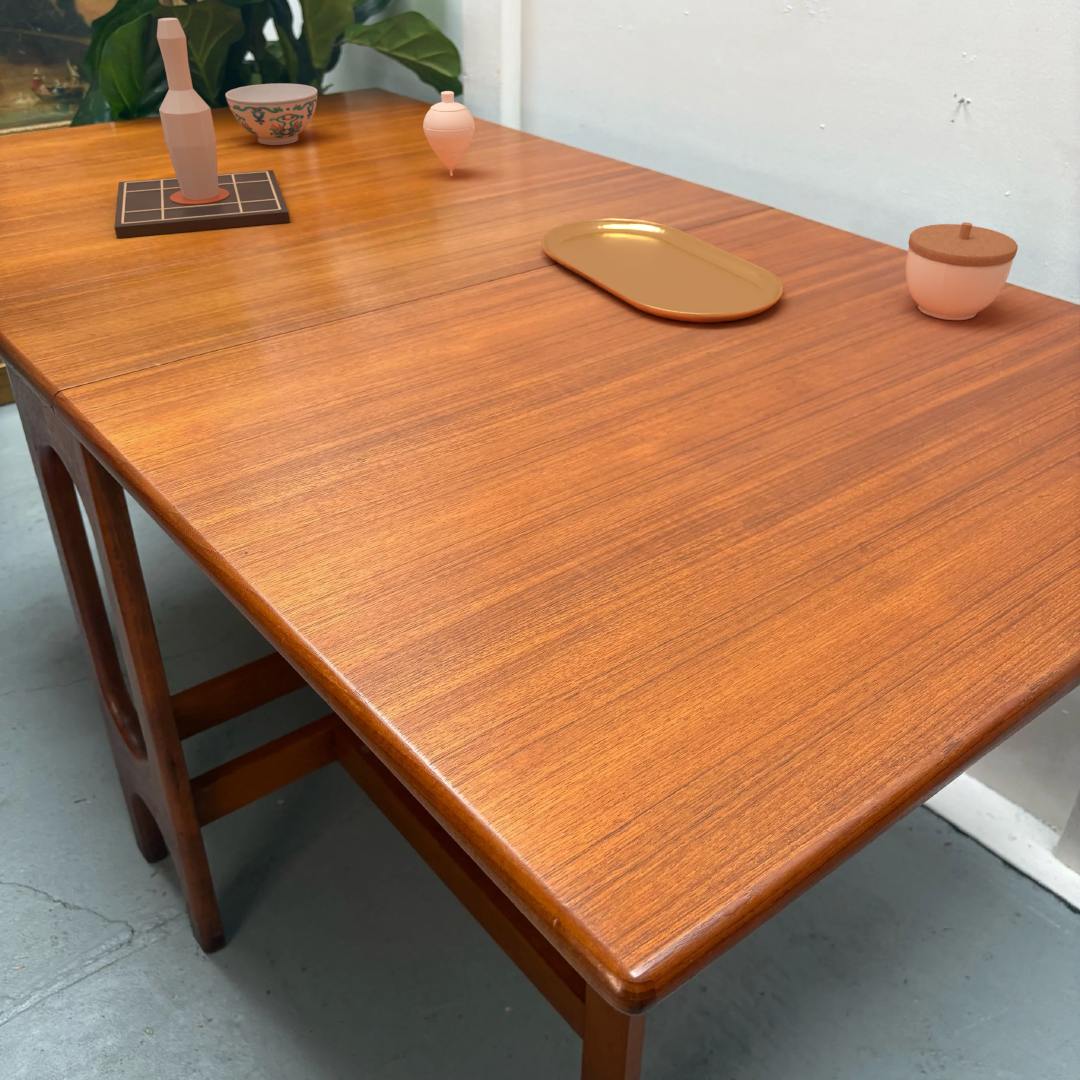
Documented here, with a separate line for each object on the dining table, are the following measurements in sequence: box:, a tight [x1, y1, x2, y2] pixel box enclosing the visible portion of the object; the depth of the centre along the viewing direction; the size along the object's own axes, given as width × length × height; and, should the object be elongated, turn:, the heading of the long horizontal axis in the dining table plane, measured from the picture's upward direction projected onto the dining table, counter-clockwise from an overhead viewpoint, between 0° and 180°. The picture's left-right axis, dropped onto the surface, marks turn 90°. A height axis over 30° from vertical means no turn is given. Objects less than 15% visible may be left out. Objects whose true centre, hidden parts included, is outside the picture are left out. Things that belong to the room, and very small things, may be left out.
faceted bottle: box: [156, 17, 219, 200], centre depth 135 cm, size 6×6×22 cm
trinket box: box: [904, 221, 1019, 321], centre depth 108 cm, size 11×11×9 cm
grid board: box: [113, 169, 291, 239], centre depth 142 cm, size 22×22×2 cm
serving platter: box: [540, 217, 784, 323], centre depth 120 cm, size 19×35×2 cm, turn 30°
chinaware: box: [225, 83, 318, 146], centre depth 172 cm, size 15×15×8 cm
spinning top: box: [422, 90, 476, 177], centre depth 152 cm, size 8×8×12 cm
